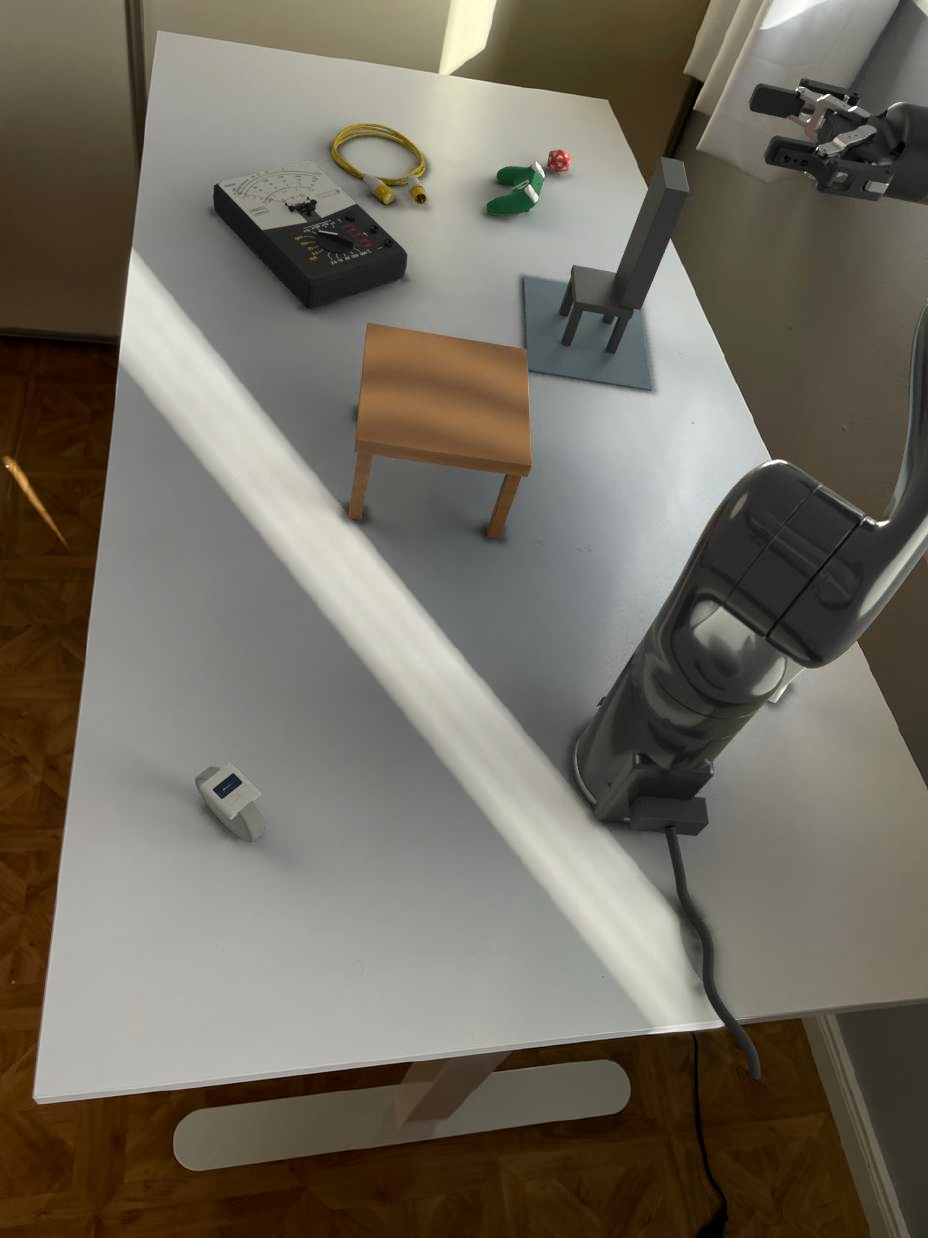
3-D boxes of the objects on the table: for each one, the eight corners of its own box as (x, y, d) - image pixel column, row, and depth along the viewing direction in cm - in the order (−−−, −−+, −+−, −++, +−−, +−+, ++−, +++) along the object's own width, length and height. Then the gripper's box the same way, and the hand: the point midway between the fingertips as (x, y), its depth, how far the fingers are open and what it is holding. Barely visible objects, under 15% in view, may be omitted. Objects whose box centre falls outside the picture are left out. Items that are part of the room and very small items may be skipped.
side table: (503, 542, 93) (532, 465, 85) (343, 521, 91) (355, 439, 82) (501, 428, 102) (527, 348, 93) (355, 406, 99) (367, 322, 91)
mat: (651, 390, 110) (651, 389, 110) (527, 370, 108) (528, 369, 108) (637, 298, 119) (638, 297, 119) (523, 278, 117) (524, 276, 117)
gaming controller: (498, 233, 124) (539, 213, 121) (482, 207, 122) (524, 186, 119) (510, 194, 129) (550, 174, 126) (495, 168, 127) (536, 147, 124)
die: (541, 164, 132) (547, 142, 129) (563, 165, 133) (569, 143, 130) (548, 177, 130) (554, 156, 128) (569, 178, 131) (576, 157, 129)
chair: (618, 318, 116) (682, 158, 100) (623, 356, 112) (690, 195, 96) (558, 308, 115) (612, 143, 99) (560, 345, 111) (618, 181, 95)
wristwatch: (273, 834, 73) (276, 806, 69) (243, 859, 71) (245, 832, 67) (216, 777, 75) (216, 746, 70) (187, 801, 73) (185, 770, 69)
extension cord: (323, 194, 118) (324, 178, 117) (337, 124, 128) (338, 108, 126) (424, 214, 120) (426, 199, 119) (431, 143, 129) (433, 128, 128)
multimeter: (308, 313, 106) (311, 273, 102) (211, 210, 112) (211, 169, 108) (405, 280, 112) (412, 241, 108) (308, 185, 119) (311, 145, 115)
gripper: (933, 74, 90) (765, 37, 87) (979, 163, 82) (795, 124, 79) (888, 153, 96) (730, 119, 93) (927, 242, 88) (754, 208, 85)
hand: (760, 121), depth 86 cm, fingers open, 8 cm apart
